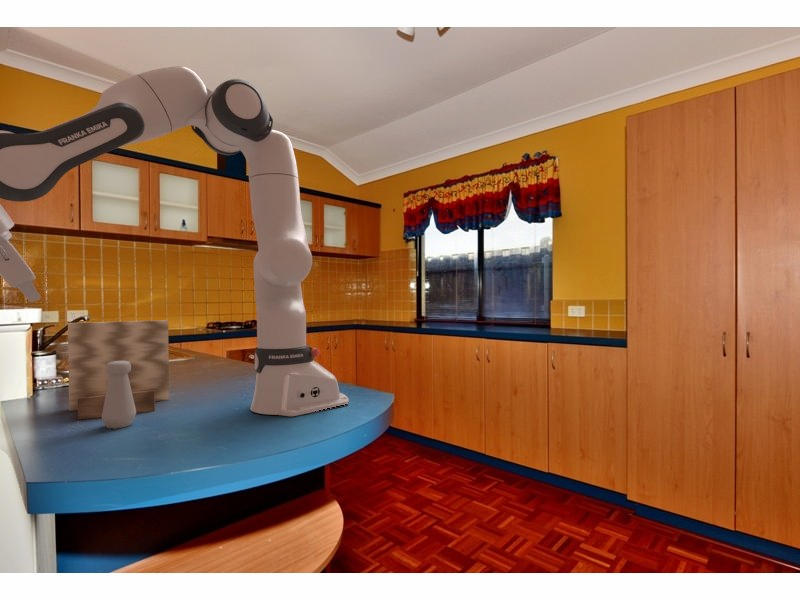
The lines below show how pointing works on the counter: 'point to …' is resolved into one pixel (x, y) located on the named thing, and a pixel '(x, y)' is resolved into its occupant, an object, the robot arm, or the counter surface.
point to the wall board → (117, 356)
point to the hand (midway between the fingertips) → (28, 292)
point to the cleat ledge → (95, 403)
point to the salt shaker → (118, 396)
